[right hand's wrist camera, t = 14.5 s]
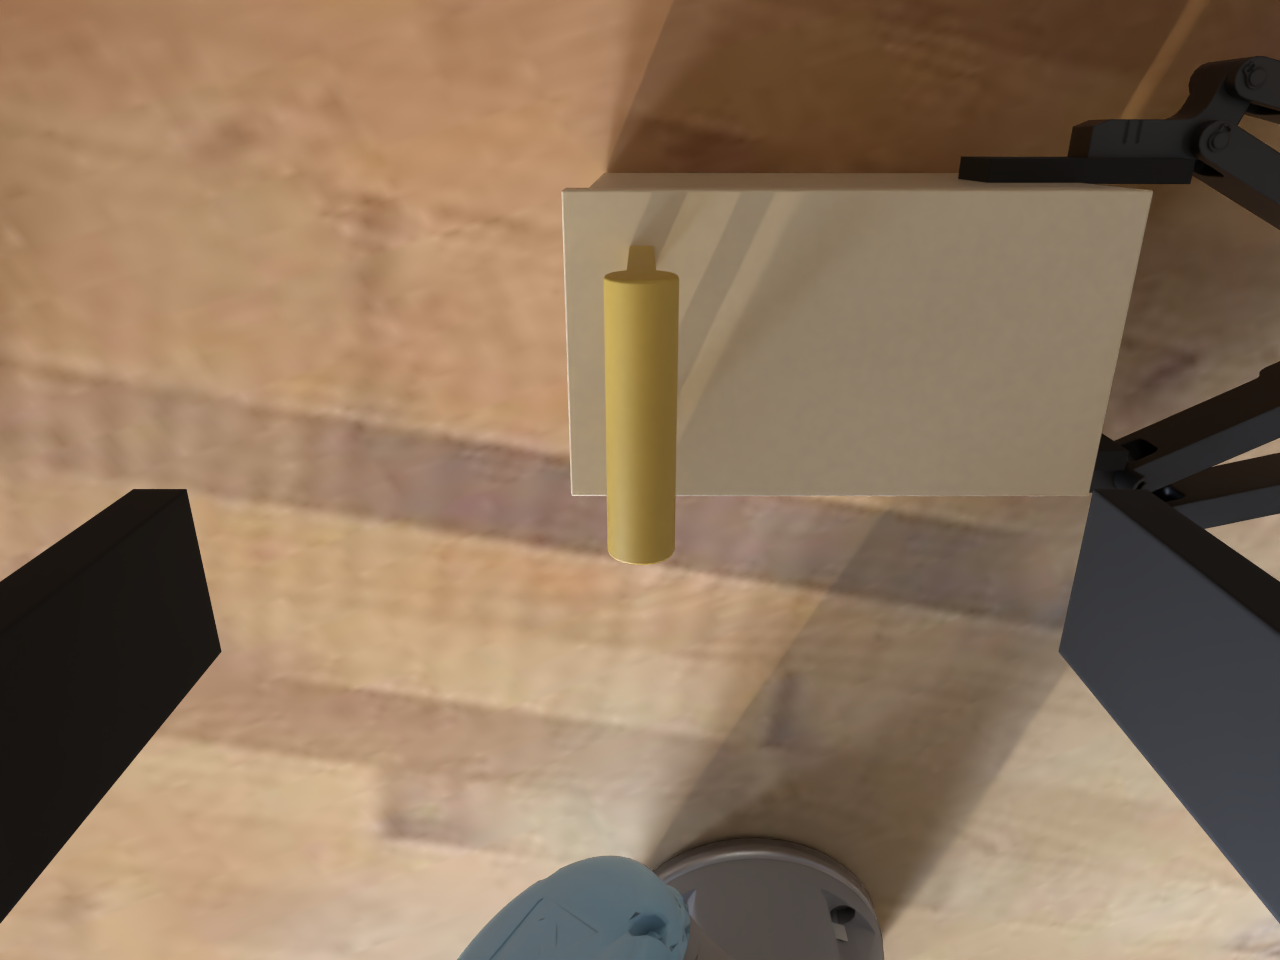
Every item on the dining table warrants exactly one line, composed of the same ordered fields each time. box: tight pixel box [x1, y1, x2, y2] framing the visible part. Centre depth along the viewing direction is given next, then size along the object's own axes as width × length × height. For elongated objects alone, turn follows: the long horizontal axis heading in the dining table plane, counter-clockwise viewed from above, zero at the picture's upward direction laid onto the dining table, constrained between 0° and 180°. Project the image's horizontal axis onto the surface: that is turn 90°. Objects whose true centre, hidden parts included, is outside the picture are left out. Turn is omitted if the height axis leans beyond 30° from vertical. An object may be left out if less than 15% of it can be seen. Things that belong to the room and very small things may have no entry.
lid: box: [562, 188, 1153, 565], centre depth 22 cm, size 16×9×8 cm, turn 90°
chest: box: [590, 173, 1126, 188], centre depth 31 cm, size 16×9×11 cm, turn 90°
